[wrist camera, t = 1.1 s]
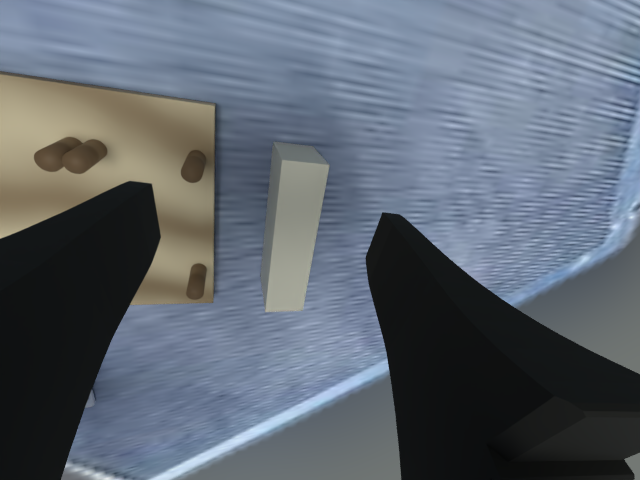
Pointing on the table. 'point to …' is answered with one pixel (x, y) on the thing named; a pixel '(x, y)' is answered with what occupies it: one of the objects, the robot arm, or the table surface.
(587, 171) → the table surface
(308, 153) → the clay bar
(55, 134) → the peg rack
